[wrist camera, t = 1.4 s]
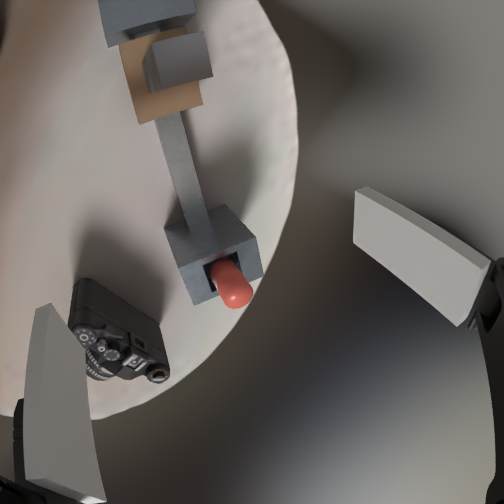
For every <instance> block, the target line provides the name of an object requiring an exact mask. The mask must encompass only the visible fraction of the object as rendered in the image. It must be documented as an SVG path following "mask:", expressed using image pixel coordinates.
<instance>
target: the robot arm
mask: <svg viewBox="0 0 504 504" xmlns="http://www.w3.org/2000/svg"><path fill="white" fill-rule="evenodd" d="M353 243H354V244H356V245H357V246H358V247H360V248H361V249H363V250H364V251H365V252H366V253H368V254H369V255H370V256H372V257H373V258H374V259H375V260H377V261H378V262H379V263H381V264H382V265H383V266H384V267H386V268H387V269H388V270H390V271H391V272H392V273H393V274H395V275H396V276H397V277H399V278H400V279H401V280H402V281H404V282H405V283H406V284H407V285H408V286H410V287H411V288H412V289H413V290H414V291H416V292H417V293H418V294H419V295H421V296H422V297H423V298H424V299H425V300H426V301H428V302H429V303H430V304H431V305H433V306H434V307H435V308H436V309H437V310H438V311H440V312H441V313H442V314H443V315H444V316H445V317H446V318H448V319H449V320H450V321H451V322H452V323H453V324H454V325H456V326H458V325H460V324H461V323H462V322H463V320H465V319H466V318H467V316H468V314H469V312H470V310H471V308H472V306H474V307H475V308H476V310H475V312H474V315H473V316H472V318H471V320H470V322H469V324H468V330H471V328H472V326H473V324H474V322H475V321H476V324H475V326H474V330H478V331H479V336H480V339H481V344H482V348H483V353H484V358H485V363H486V368H487V373H488V380H489V386H490V393H491V400H492V408H493V418H494V431H495V452H496V472H495V476H494V479H493V480H492V482H491V484H490V485H489V488H488V490H487V495H486V503H485V504H504V258H499V259H498V260H497V261H495V260H493V259H491V258H490V257H489V256H487V255H486V254H484V253H482V252H481V251H480V250H478V249H477V248H475V247H474V246H472V245H471V244H469V243H468V242H467V243H466V242H465V240H463V239H462V238H460V237H459V238H458V236H457V235H455V234H454V233H452V232H450V231H449V230H447V229H444V228H442V227H439V226H437V225H435V224H434V223H432V222H430V221H428V220H427V219H425V218H424V217H422V216H420V215H419V214H417V213H415V212H413V211H412V210H410V209H408V208H406V207H404V206H403V205H401V204H399V203H397V202H395V201H394V200H392V199H390V198H388V197H386V196H384V195H382V194H380V193H379V192H377V191H375V190H373V189H371V188H369V187H365V188H362V189H359V190H356V191H355V212H354V234H353ZM13 428H14V430H13V439H14V442H13V453H14V471H15V483H14V482H12V481H10V480H8V479H6V478H4V477H2V476H0V504H77V501H80V502H82V503H86V504H94V503H101V502H107V501H106V497H105V493H104V489H103V485H102V481H101V477H100V472H99V467H98V462H97V458H96V451H95V446H94V439H93V433H92V427H91V418H90V410H89V401H88V390H87V376H86V356H85V348H84V347H83V346H82V345H81V343H80V342H79V341H78V340H77V338H76V337H75V336H74V334H73V333H72V332H71V330H70V329H69V328H68V326H67V325H66V324H65V322H64V321H63V319H62V318H61V317H60V315H59V314H58V312H57V311H56V309H55V308H54V306H53V305H52V304H51V303H49V304H47V305H44V306H42V307H40V308H37V309H36V311H35V316H34V321H33V327H32V332H31V339H30V345H29V352H28V360H27V368H26V378H25V390H24V398H23V399H19V400H18V402H17V405H16V408H15V411H14V421H13Z"/></svg>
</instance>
